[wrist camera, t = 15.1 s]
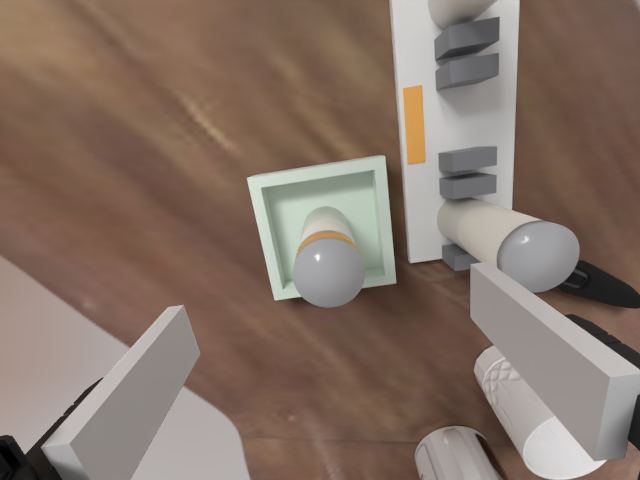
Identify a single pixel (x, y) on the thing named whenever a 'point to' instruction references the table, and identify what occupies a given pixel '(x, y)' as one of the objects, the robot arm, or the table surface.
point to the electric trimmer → (599, 286)
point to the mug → (457, 456)
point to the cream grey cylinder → (456, 11)
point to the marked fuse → (327, 260)
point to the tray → (317, 191)
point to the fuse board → (453, 117)
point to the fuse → (511, 241)
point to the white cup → (530, 421)
